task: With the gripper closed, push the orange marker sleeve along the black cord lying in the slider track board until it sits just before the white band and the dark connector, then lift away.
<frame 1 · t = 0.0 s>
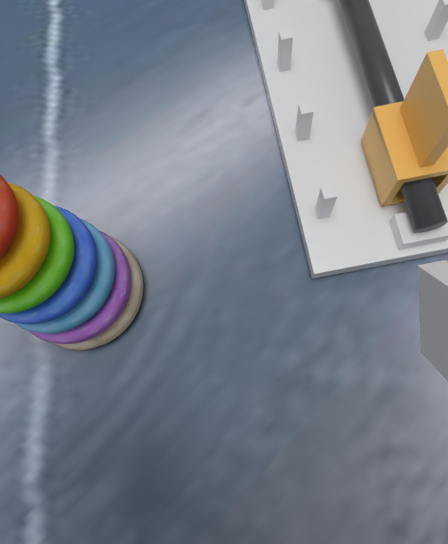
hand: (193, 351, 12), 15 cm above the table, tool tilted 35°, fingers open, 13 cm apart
stacking toy: (91, 293, 29), on the table
slider track board: (364, 95, 31), on the table
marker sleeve: (419, 131, 24), point 5 cm above the table, slide at 0.0 cm
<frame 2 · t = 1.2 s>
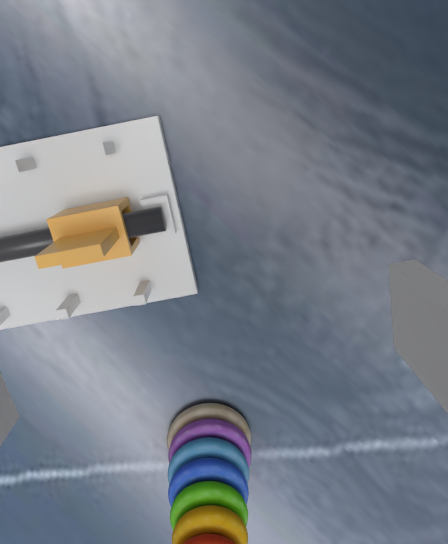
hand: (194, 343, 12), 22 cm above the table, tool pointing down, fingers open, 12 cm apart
stacking toy: (209, 431, 41), on the table
slider track board: (22, 238, 34), on the table
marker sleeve: (87, 239, 29), point 5 cm above the table, slide at 0.0 cm
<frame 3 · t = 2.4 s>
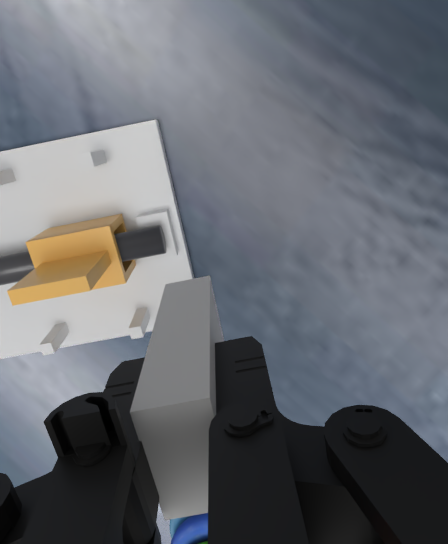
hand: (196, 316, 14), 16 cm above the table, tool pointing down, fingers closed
stacking toy: (216, 471, 37), on the table
slider track board: (3, 259, 30), on the table
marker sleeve: (74, 265, 24), point 5 cm above the table, slide at 0.0 cm
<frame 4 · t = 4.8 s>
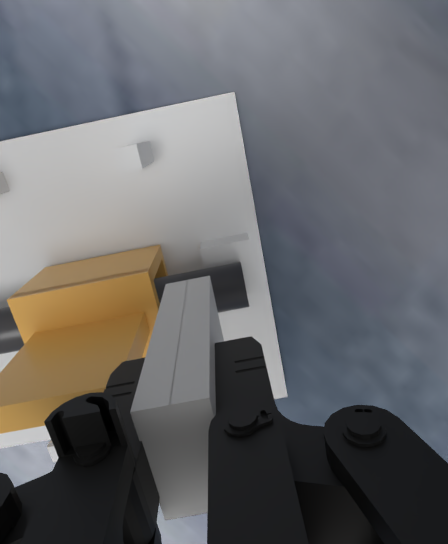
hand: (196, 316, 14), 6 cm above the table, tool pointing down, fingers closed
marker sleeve: (88, 338, 15), point 5 cm above the table, slide at 0.7 cm, touching gripper
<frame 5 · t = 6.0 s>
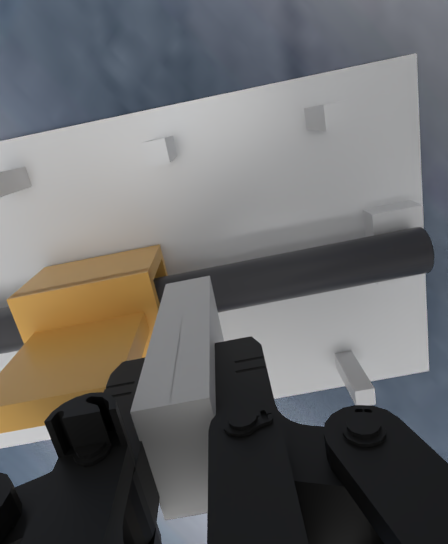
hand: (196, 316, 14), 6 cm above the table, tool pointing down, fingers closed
slider track board: (133, 280, 20), on the table
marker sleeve: (88, 338, 15), point 5 cm above the table, slide at 7.6 cm, touching gripper
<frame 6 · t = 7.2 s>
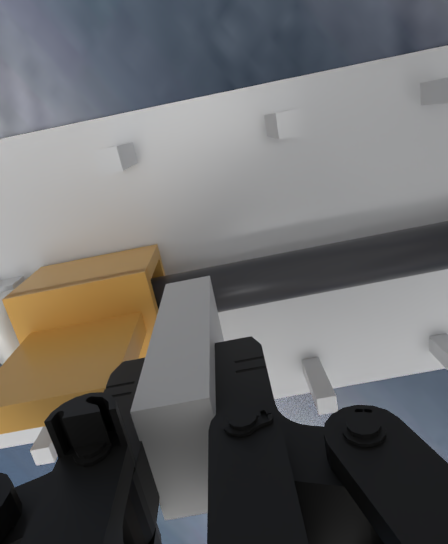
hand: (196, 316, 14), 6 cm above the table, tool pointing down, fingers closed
slider track board: (225, 261, 19), on the table
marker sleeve: (84, 338, 14), point 5 cm above the table, slide at 12.1 cm, touching gripper
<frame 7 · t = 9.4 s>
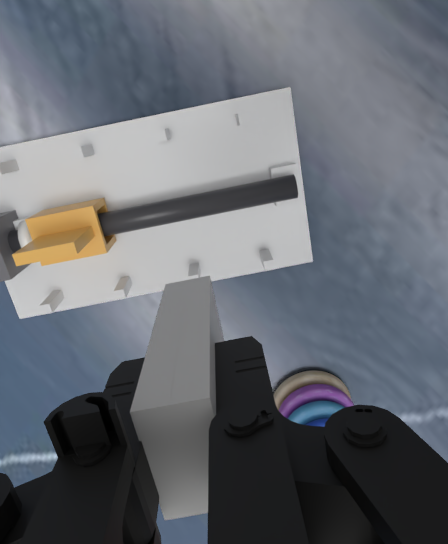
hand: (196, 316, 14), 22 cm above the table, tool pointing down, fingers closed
stacking toy: (307, 399, 43), on the table
slider track board: (146, 209, 35), on the table
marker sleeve: (64, 238, 30), point 5 cm above the table, slide at 12.3 cm
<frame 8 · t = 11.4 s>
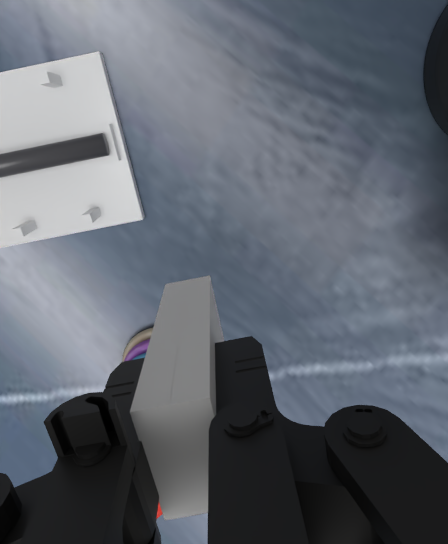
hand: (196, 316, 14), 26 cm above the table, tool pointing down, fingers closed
stacking toy: (162, 356, 45), on the table
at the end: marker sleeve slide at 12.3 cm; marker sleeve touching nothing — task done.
